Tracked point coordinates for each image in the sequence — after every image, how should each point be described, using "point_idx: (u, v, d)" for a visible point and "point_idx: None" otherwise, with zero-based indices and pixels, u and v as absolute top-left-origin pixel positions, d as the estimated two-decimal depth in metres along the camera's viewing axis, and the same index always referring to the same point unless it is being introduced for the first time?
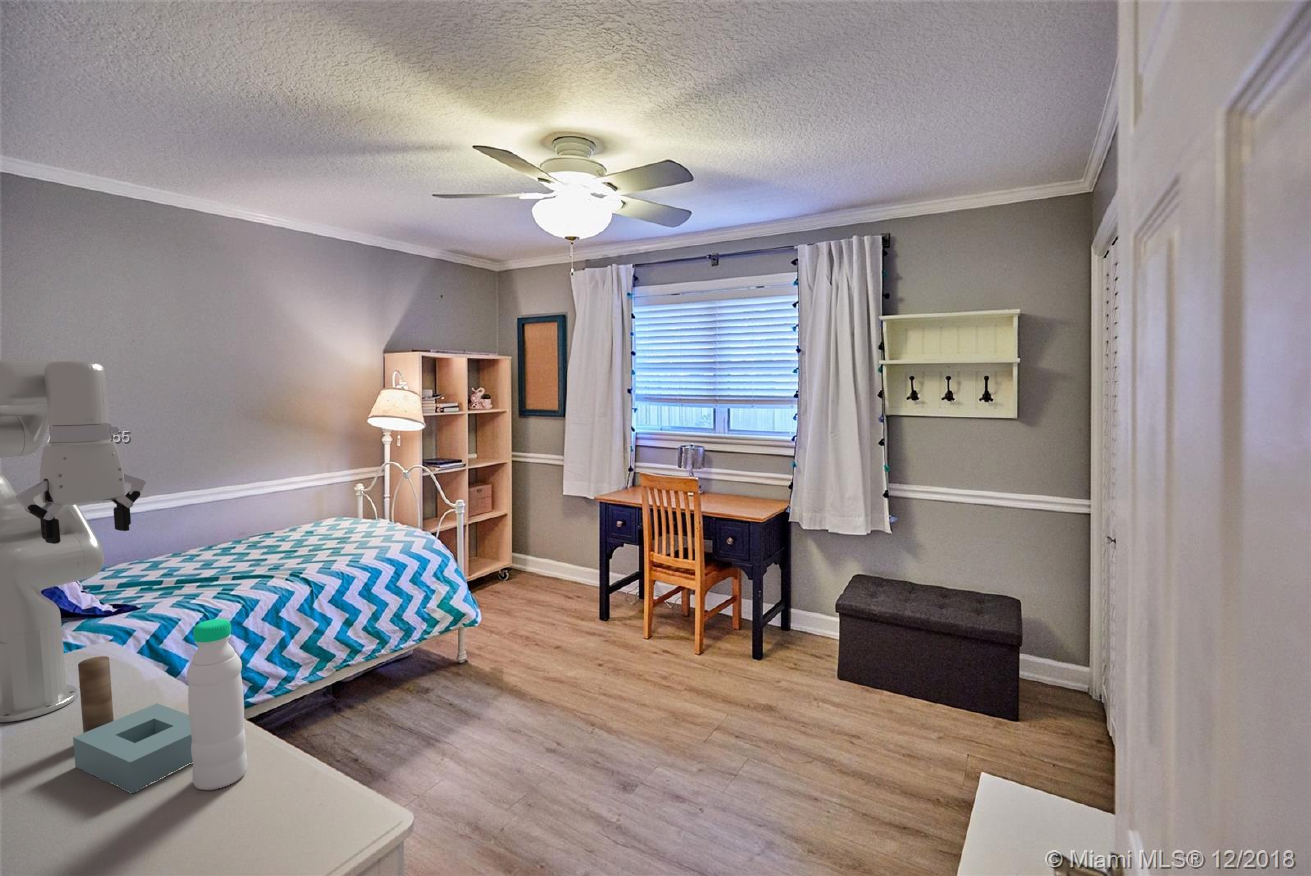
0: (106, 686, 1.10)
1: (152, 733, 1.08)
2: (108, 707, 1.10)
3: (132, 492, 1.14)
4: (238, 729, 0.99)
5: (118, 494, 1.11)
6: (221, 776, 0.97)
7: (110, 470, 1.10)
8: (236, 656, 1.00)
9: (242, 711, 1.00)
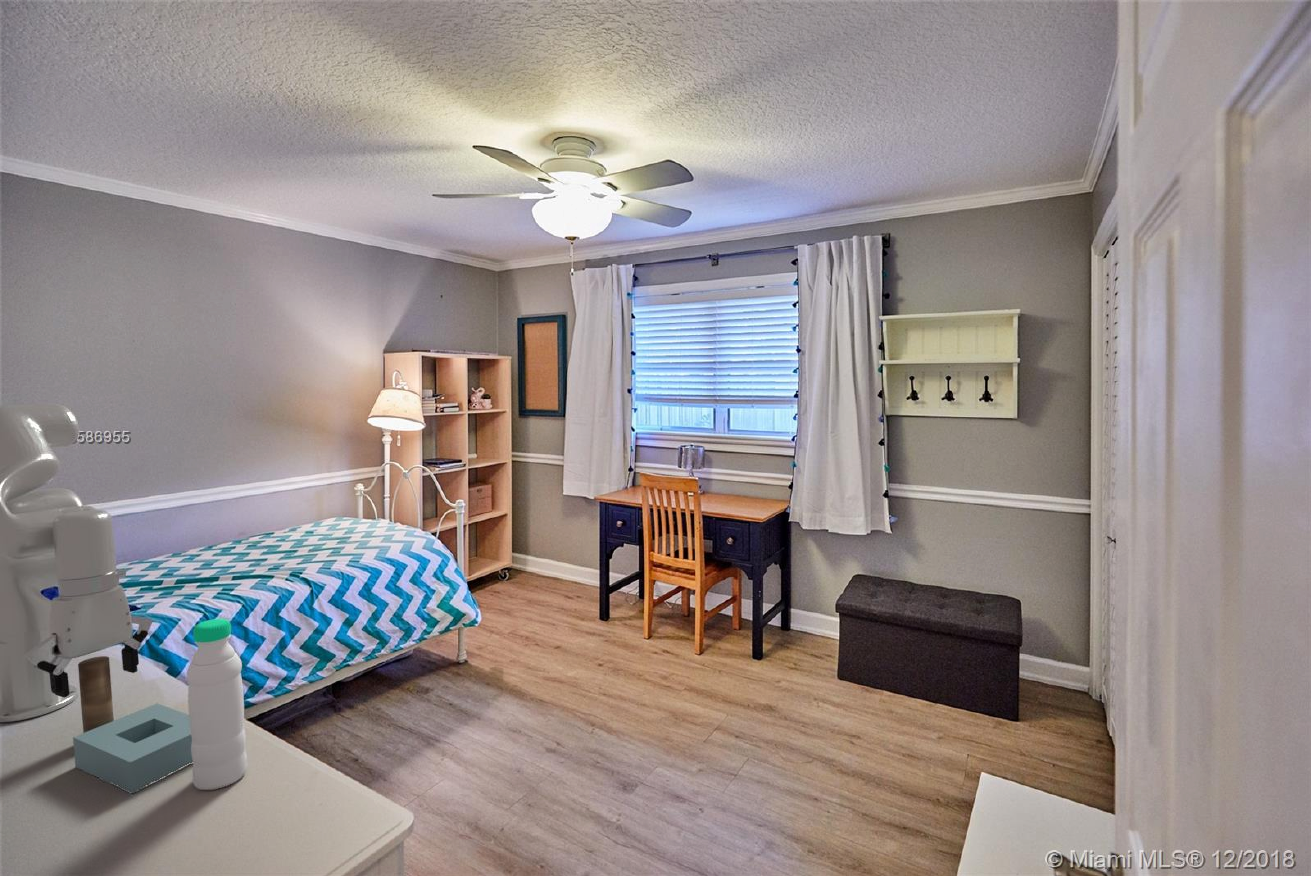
0: (106, 686, 1.10)
1: (152, 733, 1.08)
2: (108, 707, 1.10)
3: (140, 632, 1.15)
4: (238, 729, 0.99)
5: (126, 638, 1.12)
6: (221, 776, 0.97)
7: (118, 616, 1.10)
8: (236, 656, 1.00)
9: (242, 711, 1.00)
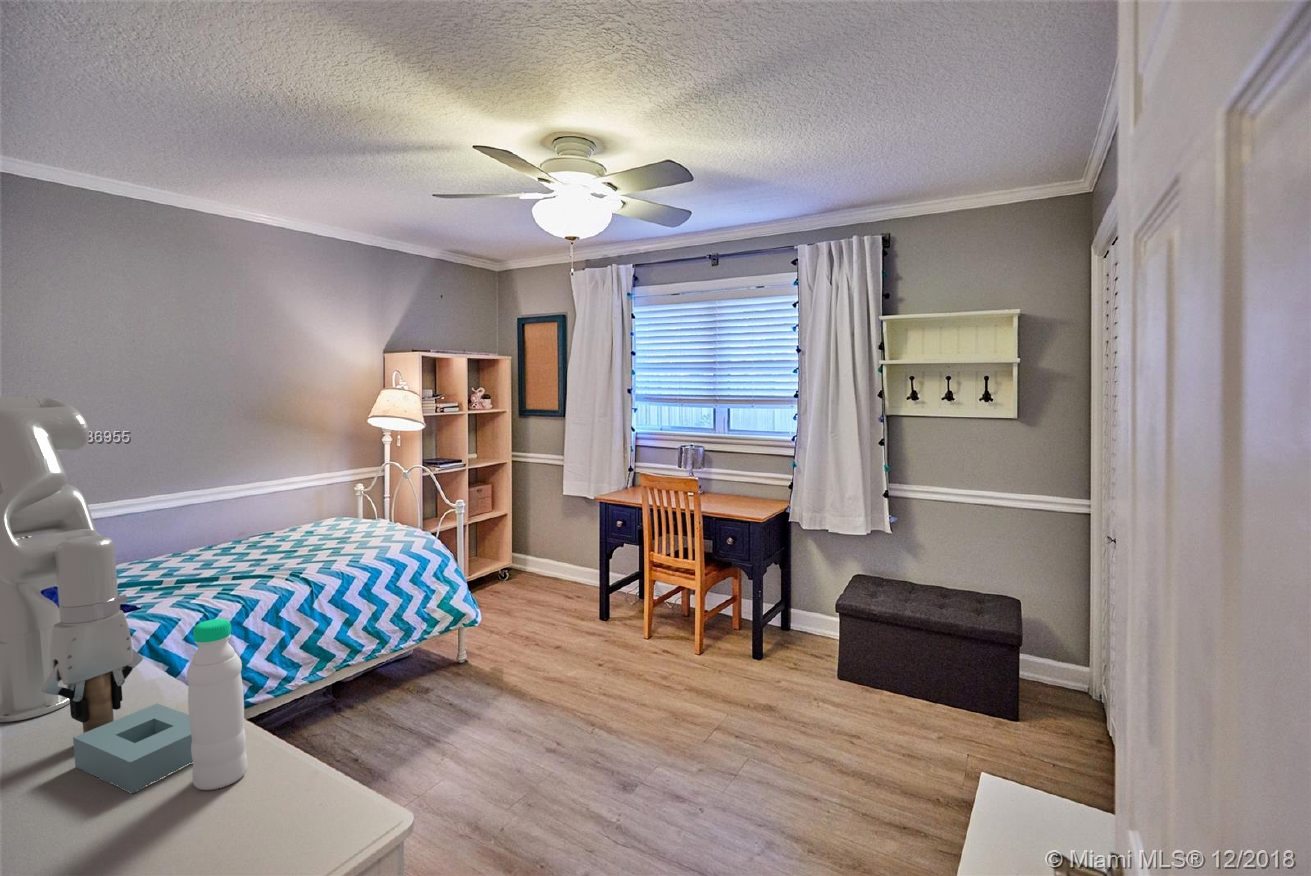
0: (106, 686, 1.10)
1: (152, 733, 1.08)
2: (108, 707, 1.10)
3: (124, 668, 1.14)
4: (238, 729, 0.99)
5: (126, 663, 1.13)
6: (221, 776, 0.97)
7: (118, 641, 1.11)
8: (236, 656, 1.00)
9: (242, 711, 1.00)
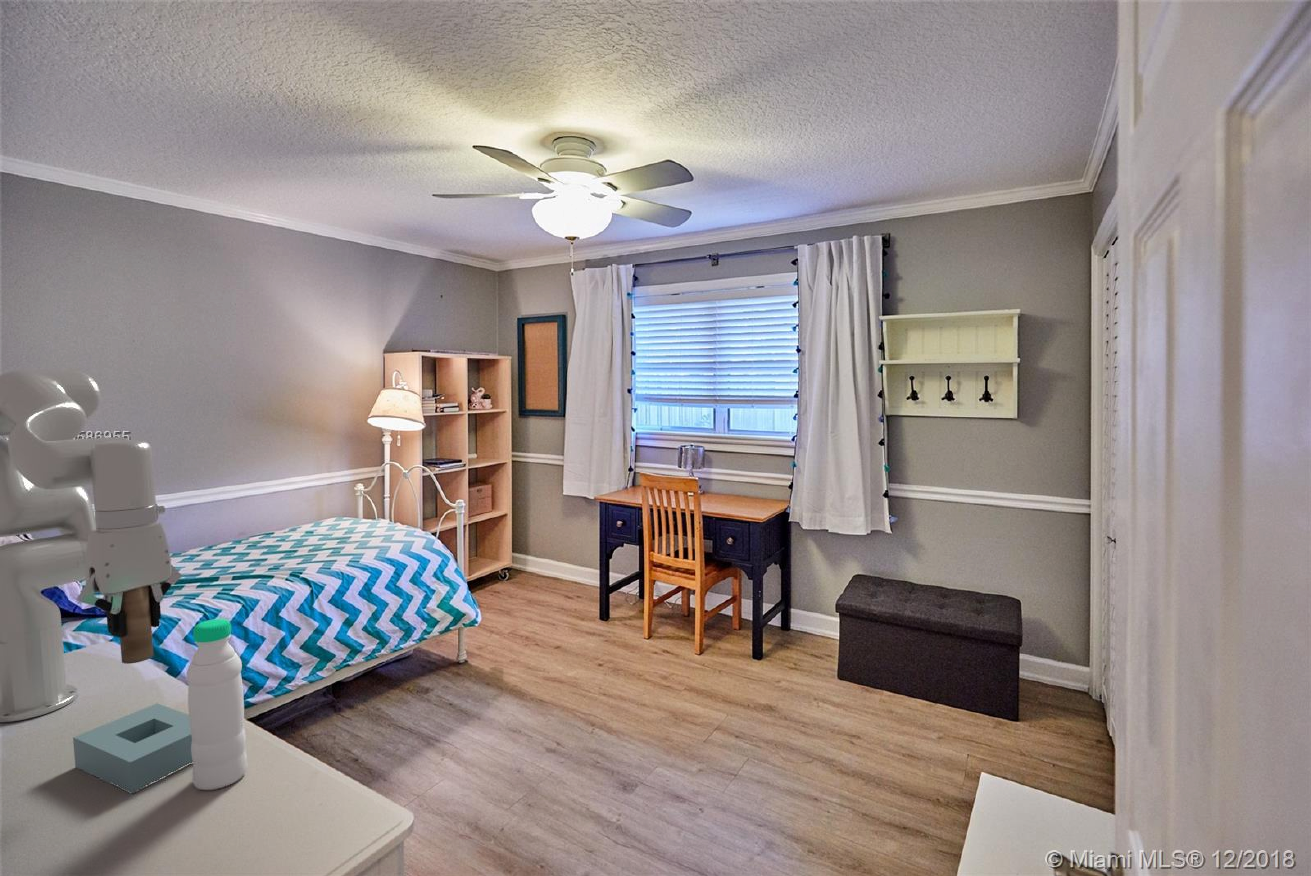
0: (145, 599, 1.03)
1: (152, 733, 1.08)
2: (147, 623, 1.03)
3: (162, 584, 1.07)
4: (238, 729, 0.99)
5: (165, 577, 1.06)
6: (221, 776, 0.97)
7: (157, 553, 1.04)
8: (236, 656, 1.00)
9: (242, 711, 1.00)
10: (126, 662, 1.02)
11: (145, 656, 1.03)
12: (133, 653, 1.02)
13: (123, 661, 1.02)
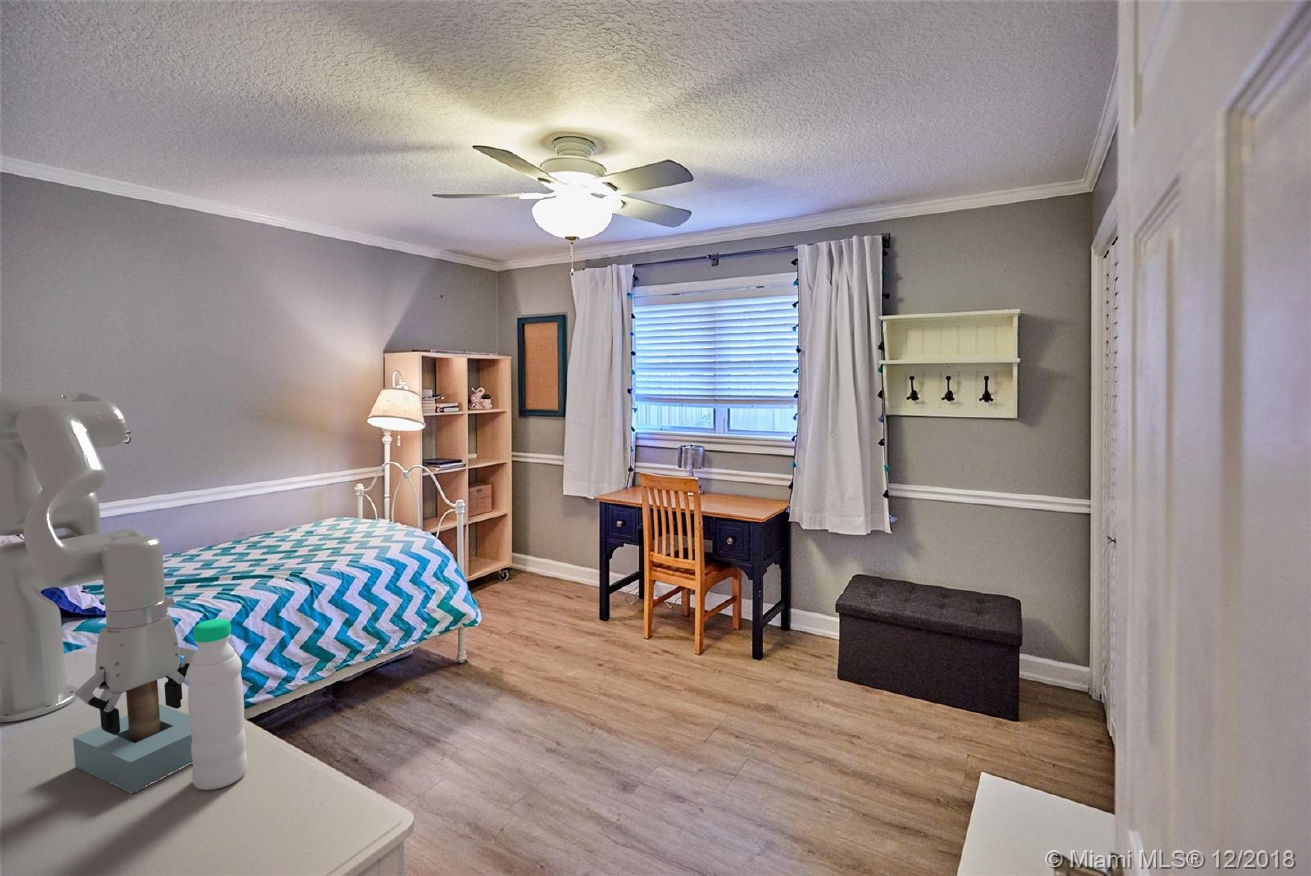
0: (154, 703, 1.04)
1: None
2: (156, 725, 1.05)
3: (184, 665, 1.09)
4: (238, 729, 0.99)
5: (173, 670, 1.07)
6: (221, 776, 0.97)
7: (166, 647, 1.05)
8: (236, 656, 1.00)
9: (242, 711, 1.00)
10: None
11: None
12: None
13: None
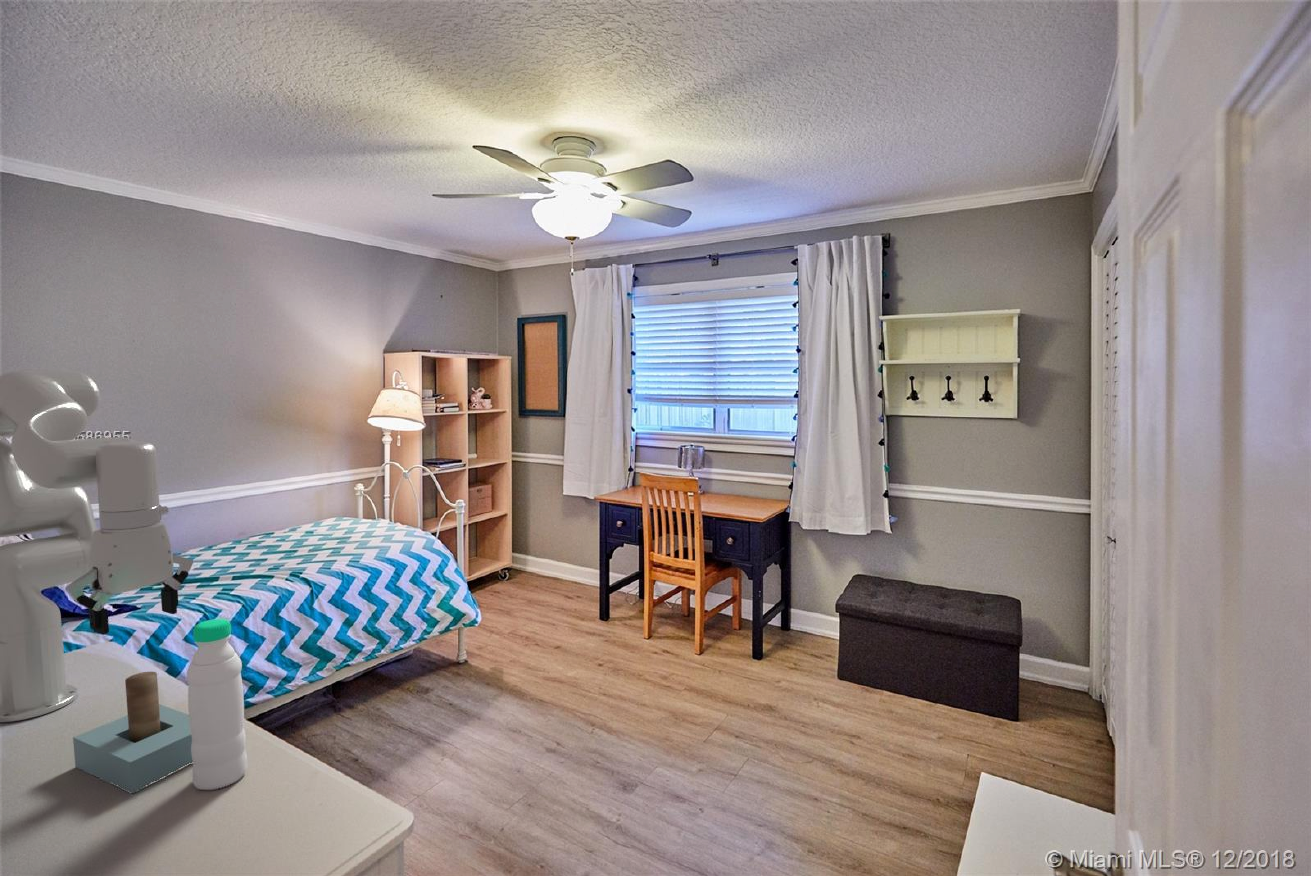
0: (154, 703, 1.04)
1: None
2: (156, 725, 1.05)
3: (180, 572, 1.10)
4: (238, 729, 0.99)
5: (167, 577, 1.07)
6: (221, 776, 0.97)
7: (159, 554, 1.05)
8: (236, 656, 1.00)
9: (242, 711, 1.00)
10: None
11: None
12: None
13: None
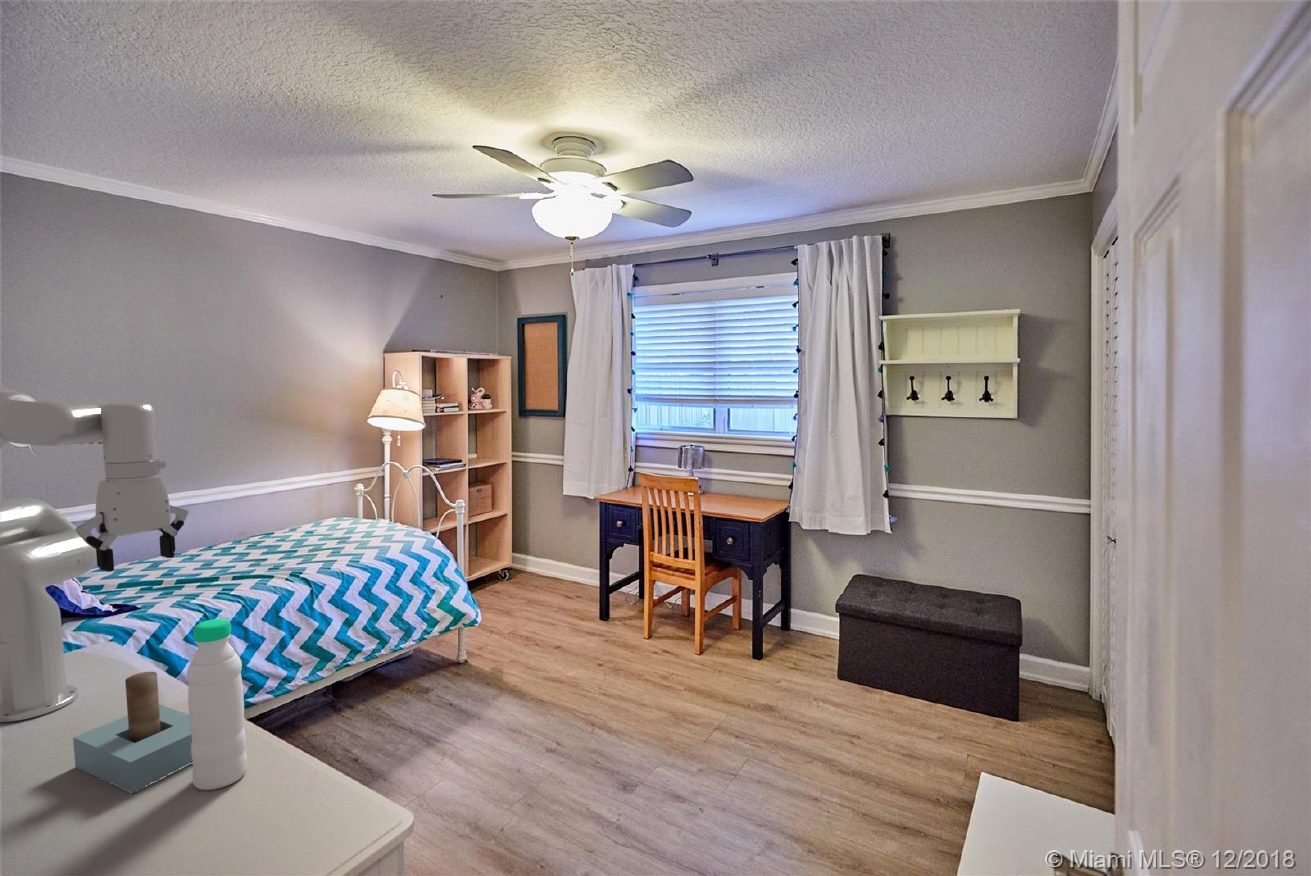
0: (154, 703, 1.04)
1: None
2: (156, 725, 1.05)
3: (176, 521, 1.23)
4: (238, 729, 0.99)
5: (165, 524, 1.20)
6: (221, 776, 0.97)
7: (158, 502, 1.18)
8: (236, 656, 1.00)
9: (242, 711, 1.00)
10: None
11: None
12: None
13: None
